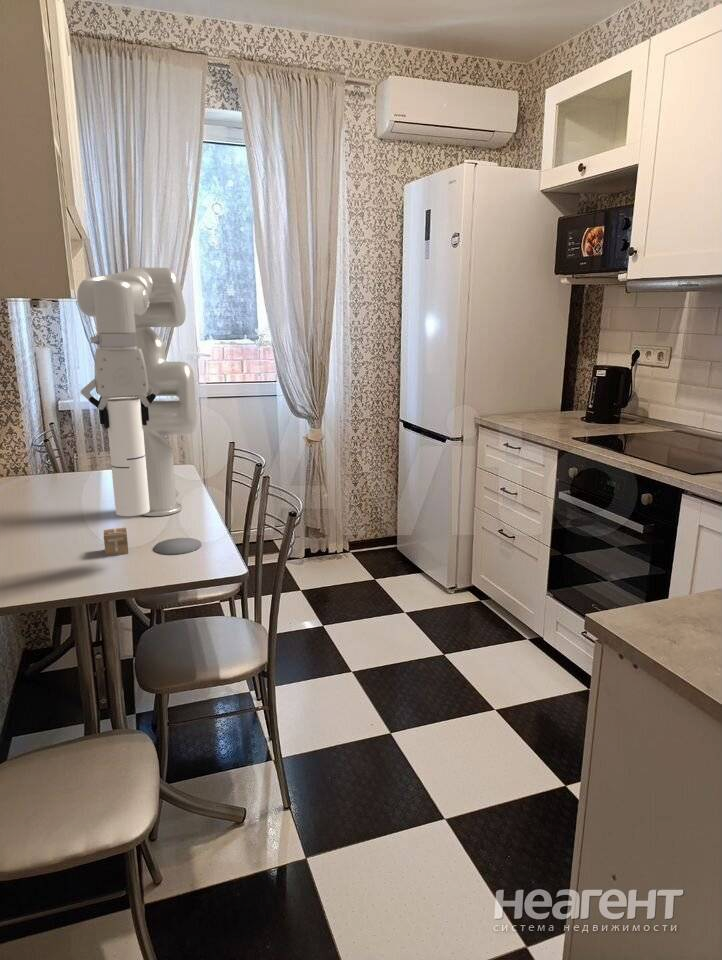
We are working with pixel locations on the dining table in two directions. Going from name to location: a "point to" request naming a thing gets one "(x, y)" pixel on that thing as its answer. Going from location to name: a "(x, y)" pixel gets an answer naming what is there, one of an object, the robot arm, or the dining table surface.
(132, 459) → the cylindrical container
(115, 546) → the wooden letter cube
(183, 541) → the charcoal mat
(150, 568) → the dining table surface
